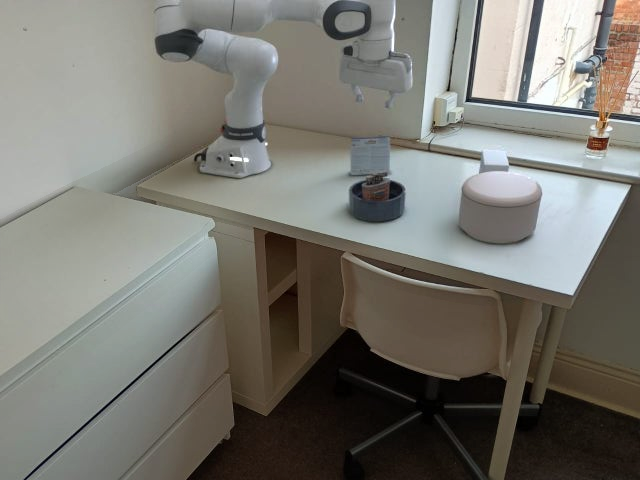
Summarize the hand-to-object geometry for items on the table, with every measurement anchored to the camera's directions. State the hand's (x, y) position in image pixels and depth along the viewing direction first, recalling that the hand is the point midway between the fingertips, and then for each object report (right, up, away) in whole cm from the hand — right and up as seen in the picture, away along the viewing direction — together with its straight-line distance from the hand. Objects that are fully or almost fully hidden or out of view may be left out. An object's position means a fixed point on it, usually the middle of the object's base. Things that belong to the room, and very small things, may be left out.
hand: (373, 104), depth 172 cm
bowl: (+2, -26, +6) cm, 27 cm away
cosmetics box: (+33, -22, +9) cm, 41 cm away
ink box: (+4, -13, +27) cm, 30 cm away
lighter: (+2, -26, +6) cm, 27 cm away
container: (+29, -33, -7) cm, 44 cm away
